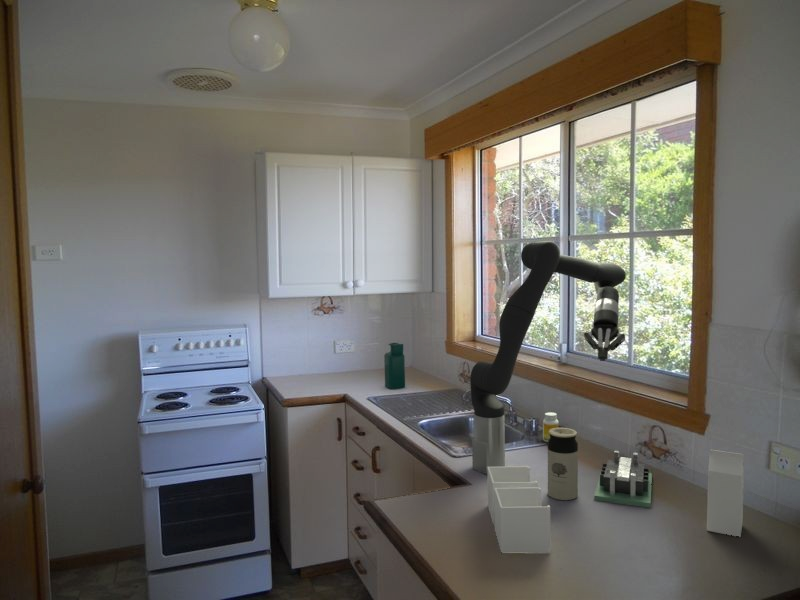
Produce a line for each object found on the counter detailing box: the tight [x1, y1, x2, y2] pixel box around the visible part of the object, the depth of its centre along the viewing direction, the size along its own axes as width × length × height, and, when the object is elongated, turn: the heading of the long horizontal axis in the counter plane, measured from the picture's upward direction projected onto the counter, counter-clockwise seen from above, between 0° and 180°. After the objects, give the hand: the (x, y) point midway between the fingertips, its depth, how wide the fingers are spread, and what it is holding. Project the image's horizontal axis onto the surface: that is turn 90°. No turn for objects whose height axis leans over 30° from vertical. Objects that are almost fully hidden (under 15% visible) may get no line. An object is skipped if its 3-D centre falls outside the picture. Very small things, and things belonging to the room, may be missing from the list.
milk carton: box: [706, 449, 745, 538], centre depth 146 cm, size 7×7×19 cm
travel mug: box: [547, 427, 579, 501], centre depth 167 cm, size 8×8×18 cm
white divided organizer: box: [486, 465, 551, 553], centre depth 149 cm, size 25×11×11 cm, turn 179°
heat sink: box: [599, 450, 650, 498], centre depth 171 cm, size 17×12×7 cm
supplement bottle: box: [542, 412, 560, 443], centre depth 213 cm, size 5×5×10 cm
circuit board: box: [593, 468, 653, 508], centre depth 171 cm, size 22×14×1 cm, turn 157°
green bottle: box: [383, 342, 406, 391], centre depth 296 cm, size 10×8×22 cm
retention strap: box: [617, 456, 633, 481], centre depth 171 cm, size 16×3×1 cm, turn 157°
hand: (602, 359), depth 188 cm, fingers closed
